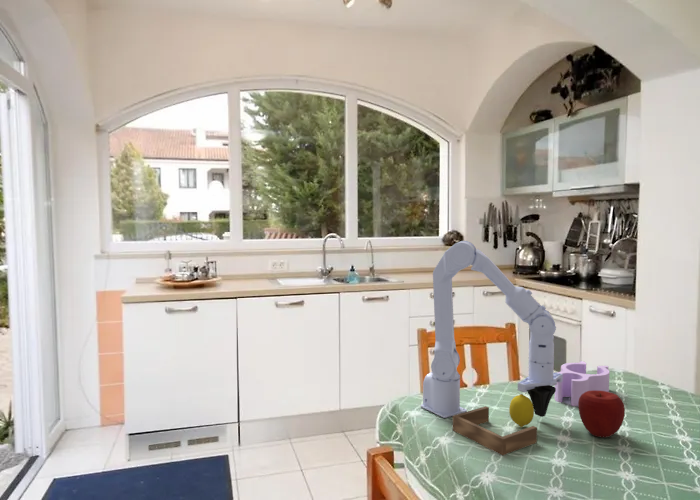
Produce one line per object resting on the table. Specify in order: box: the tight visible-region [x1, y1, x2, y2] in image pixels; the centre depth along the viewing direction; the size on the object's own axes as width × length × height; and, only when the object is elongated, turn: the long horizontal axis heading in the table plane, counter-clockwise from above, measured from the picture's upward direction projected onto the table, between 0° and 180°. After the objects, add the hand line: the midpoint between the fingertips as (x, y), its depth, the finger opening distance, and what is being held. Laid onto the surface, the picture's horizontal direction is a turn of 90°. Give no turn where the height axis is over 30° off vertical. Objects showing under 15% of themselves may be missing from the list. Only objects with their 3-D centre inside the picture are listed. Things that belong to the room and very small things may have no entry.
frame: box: [452, 405, 538, 456], centre depth 116 cm, size 15×11×4 cm
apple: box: [577, 390, 626, 438], centre depth 117 cm, size 10×10×10 cm
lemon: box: [508, 393, 535, 428], centre depth 121 cm, size 6×6×8 cm
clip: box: [554, 360, 610, 407], centre depth 143 cm, size 20×12×7 cm, turn 134°
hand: (540, 415), depth 125 cm, fingers closed
